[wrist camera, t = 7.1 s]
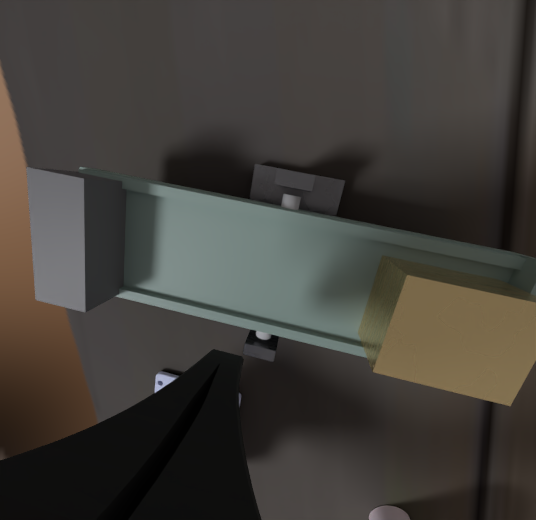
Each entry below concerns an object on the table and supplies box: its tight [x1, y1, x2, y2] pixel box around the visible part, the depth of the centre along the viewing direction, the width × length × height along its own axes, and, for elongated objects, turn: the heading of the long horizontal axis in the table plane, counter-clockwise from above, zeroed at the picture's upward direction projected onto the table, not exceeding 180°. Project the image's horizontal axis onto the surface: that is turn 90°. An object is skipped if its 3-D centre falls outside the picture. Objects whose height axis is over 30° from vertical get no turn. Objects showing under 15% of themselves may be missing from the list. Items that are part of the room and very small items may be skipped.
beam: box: [26, 167, 536, 358], centre depth 14 cm, size 9×25×4 cm, turn 79°
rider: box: [358, 255, 536, 406], centre depth 13 cm, size 5×6×4 cm
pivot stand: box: [243, 164, 345, 362], centre depth 17 cm, size 12×6×5 cm, turn 169°
